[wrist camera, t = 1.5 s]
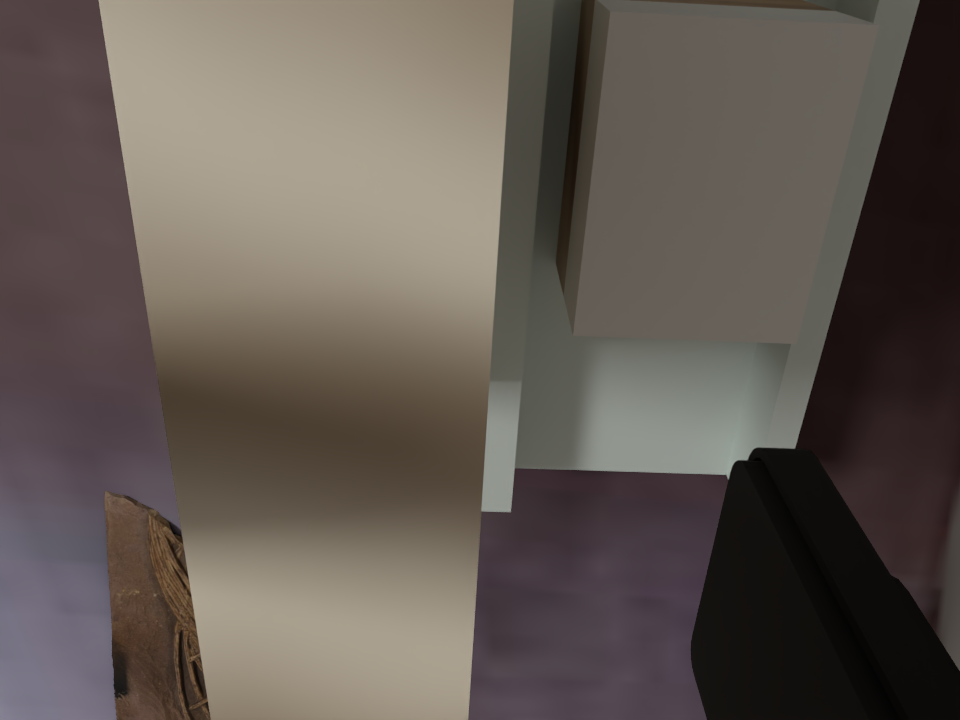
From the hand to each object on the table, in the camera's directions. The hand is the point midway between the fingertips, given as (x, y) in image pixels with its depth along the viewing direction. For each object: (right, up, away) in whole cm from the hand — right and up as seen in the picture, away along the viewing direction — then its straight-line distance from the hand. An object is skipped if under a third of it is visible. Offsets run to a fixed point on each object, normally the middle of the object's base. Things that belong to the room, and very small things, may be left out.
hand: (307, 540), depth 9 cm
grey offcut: (+8, +7, +14) cm, 17 cm away
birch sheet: (0, +9, +15) cm, 18 cm away
